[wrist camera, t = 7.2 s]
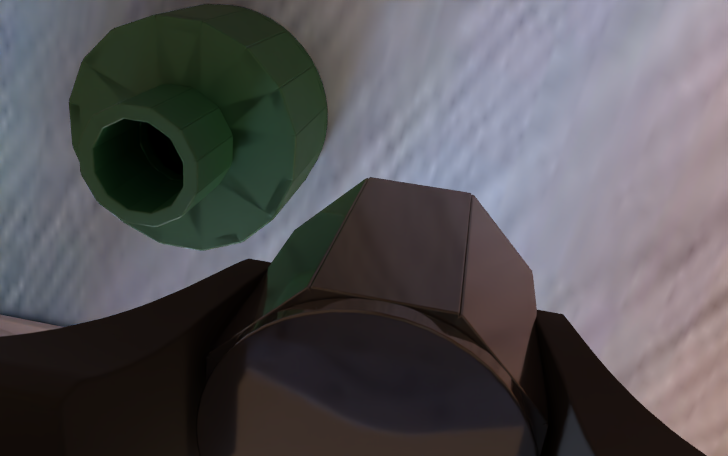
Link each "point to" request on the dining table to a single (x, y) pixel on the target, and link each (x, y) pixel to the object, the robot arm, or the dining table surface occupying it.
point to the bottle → (197, 123)
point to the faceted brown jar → (383, 338)
